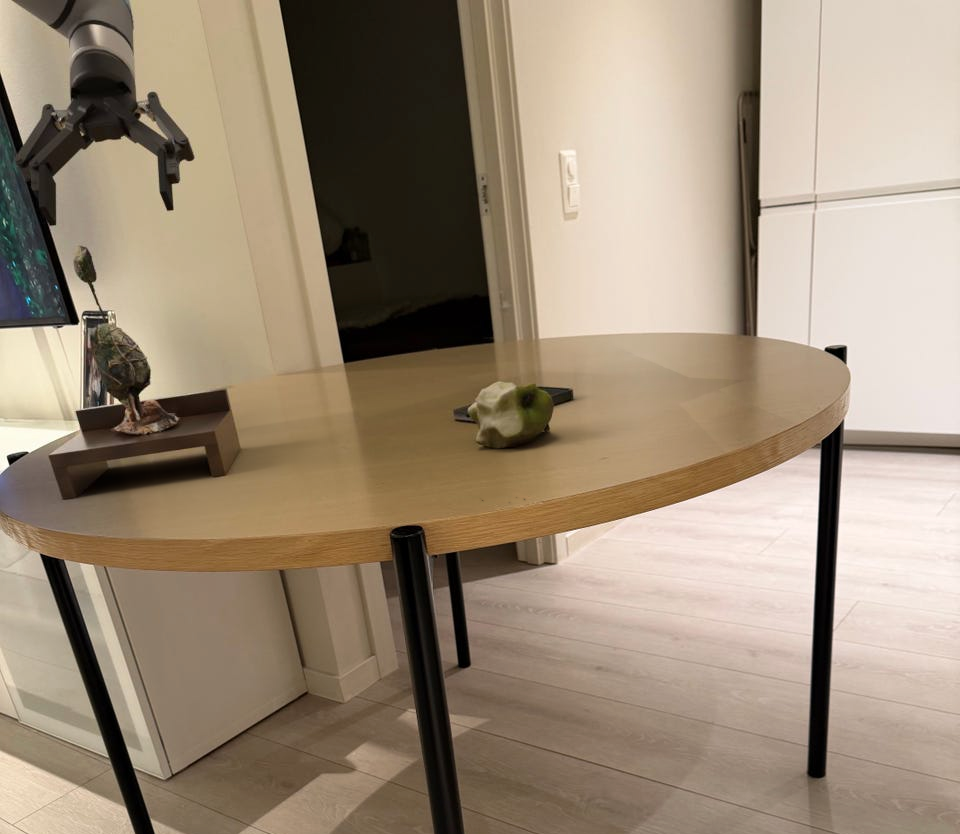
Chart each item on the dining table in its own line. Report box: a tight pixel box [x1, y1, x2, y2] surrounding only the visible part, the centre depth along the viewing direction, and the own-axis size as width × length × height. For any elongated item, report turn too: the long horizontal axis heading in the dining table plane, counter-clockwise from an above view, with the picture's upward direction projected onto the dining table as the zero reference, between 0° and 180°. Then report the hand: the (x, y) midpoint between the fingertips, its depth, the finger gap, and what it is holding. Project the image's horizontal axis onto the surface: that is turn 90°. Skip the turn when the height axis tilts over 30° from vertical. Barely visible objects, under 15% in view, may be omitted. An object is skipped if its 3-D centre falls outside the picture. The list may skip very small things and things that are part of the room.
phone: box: [452, 385, 575, 423], centre depth 113 cm, size 8×1×15 cm
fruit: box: [468, 380, 555, 449], centre depth 96 cm, size 9×9×8 cm
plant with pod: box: [72, 245, 180, 435], centre depth 99 cm, size 8×11×20 cm
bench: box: [48, 387, 241, 500], centre depth 104 cm, size 18×14×8 cm
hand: (107, 209), depth 103 cm, fingers open, 13 cm apart
